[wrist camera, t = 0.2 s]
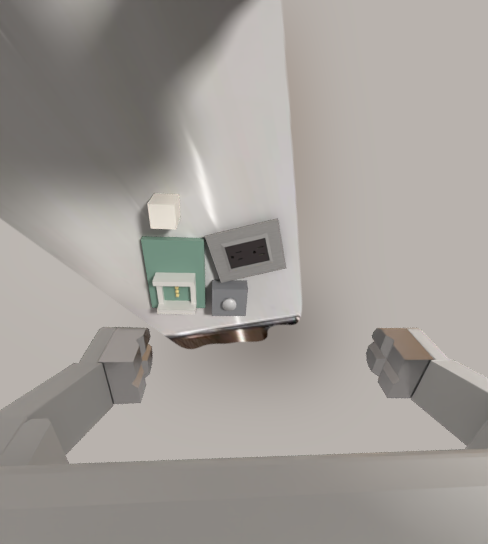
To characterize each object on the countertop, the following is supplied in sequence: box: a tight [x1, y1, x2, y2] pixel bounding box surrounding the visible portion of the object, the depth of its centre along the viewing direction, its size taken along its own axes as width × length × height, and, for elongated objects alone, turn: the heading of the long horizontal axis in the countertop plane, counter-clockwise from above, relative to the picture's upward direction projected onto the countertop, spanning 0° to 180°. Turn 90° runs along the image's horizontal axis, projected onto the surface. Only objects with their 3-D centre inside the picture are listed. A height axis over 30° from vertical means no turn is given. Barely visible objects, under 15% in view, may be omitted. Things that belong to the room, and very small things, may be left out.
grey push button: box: [212, 280, 248, 316], centre depth 57 cm, size 7×7×4 cm
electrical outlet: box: [205, 218, 286, 283], centre depth 52 cm, size 13×10×2 cm
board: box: [141, 236, 206, 314], centre depth 53 cm, size 16×11×4 cm
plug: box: [147, 193, 181, 229], centre depth 45 cm, size 4×4×5 cm
